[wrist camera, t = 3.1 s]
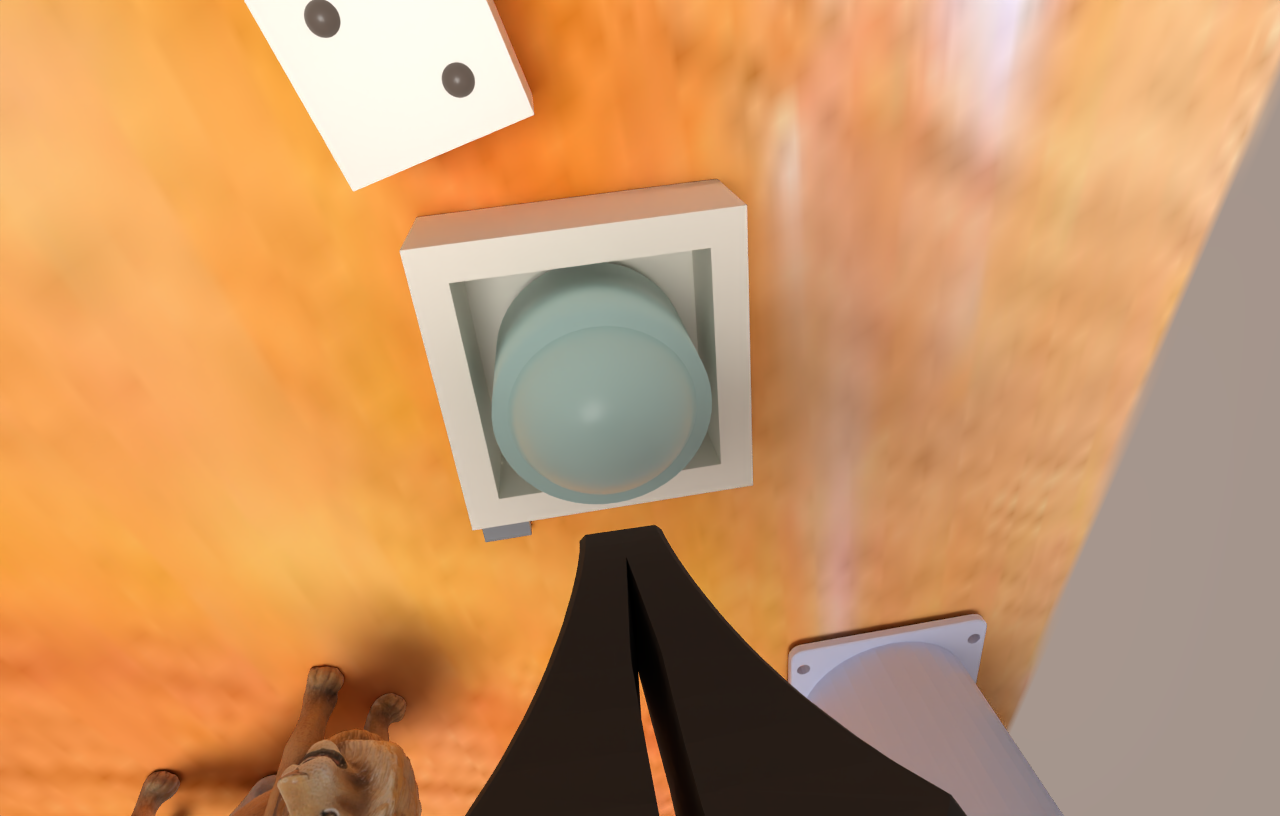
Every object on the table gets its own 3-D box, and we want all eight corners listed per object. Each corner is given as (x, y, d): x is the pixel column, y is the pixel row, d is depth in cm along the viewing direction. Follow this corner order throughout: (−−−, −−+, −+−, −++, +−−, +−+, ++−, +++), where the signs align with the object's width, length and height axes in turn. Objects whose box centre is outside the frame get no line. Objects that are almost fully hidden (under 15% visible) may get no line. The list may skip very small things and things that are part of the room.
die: (532, 94, 18) (534, 115, 14) (385, 156, 18) (351, 193, 15) (456, -89, 16) (437, -117, 12) (293, -17, 16) (227, -24, 13)
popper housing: (727, 432, 24) (752, 485, 21) (478, 470, 23) (472, 530, 20) (717, 178, 20) (747, 205, 17) (416, 217, 19) (399, 250, 16)
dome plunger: (689, 419, 22) (731, 522, 17) (514, 446, 21) (512, 558, 17) (678, 249, 19) (722, 319, 15) (478, 275, 19) (465, 356, 14)
